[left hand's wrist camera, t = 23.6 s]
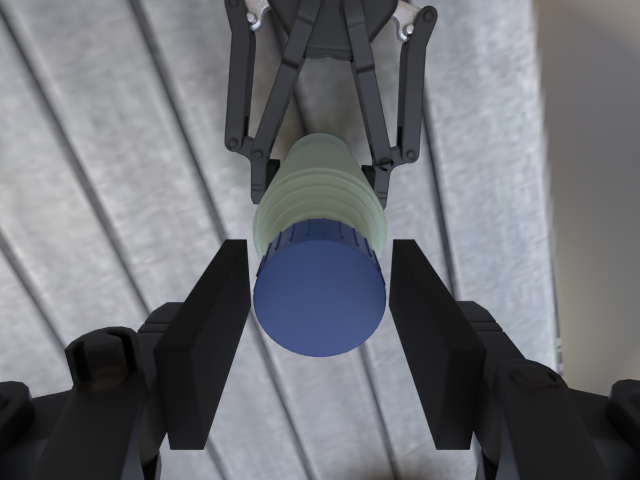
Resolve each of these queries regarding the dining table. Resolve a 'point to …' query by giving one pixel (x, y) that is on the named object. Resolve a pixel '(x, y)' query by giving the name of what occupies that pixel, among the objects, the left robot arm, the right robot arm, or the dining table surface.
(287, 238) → the cap
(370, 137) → the right robot arm
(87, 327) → the dining table surface
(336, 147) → the bottle
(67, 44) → the dining table surface
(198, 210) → the dining table surface
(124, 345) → the left robot arm
